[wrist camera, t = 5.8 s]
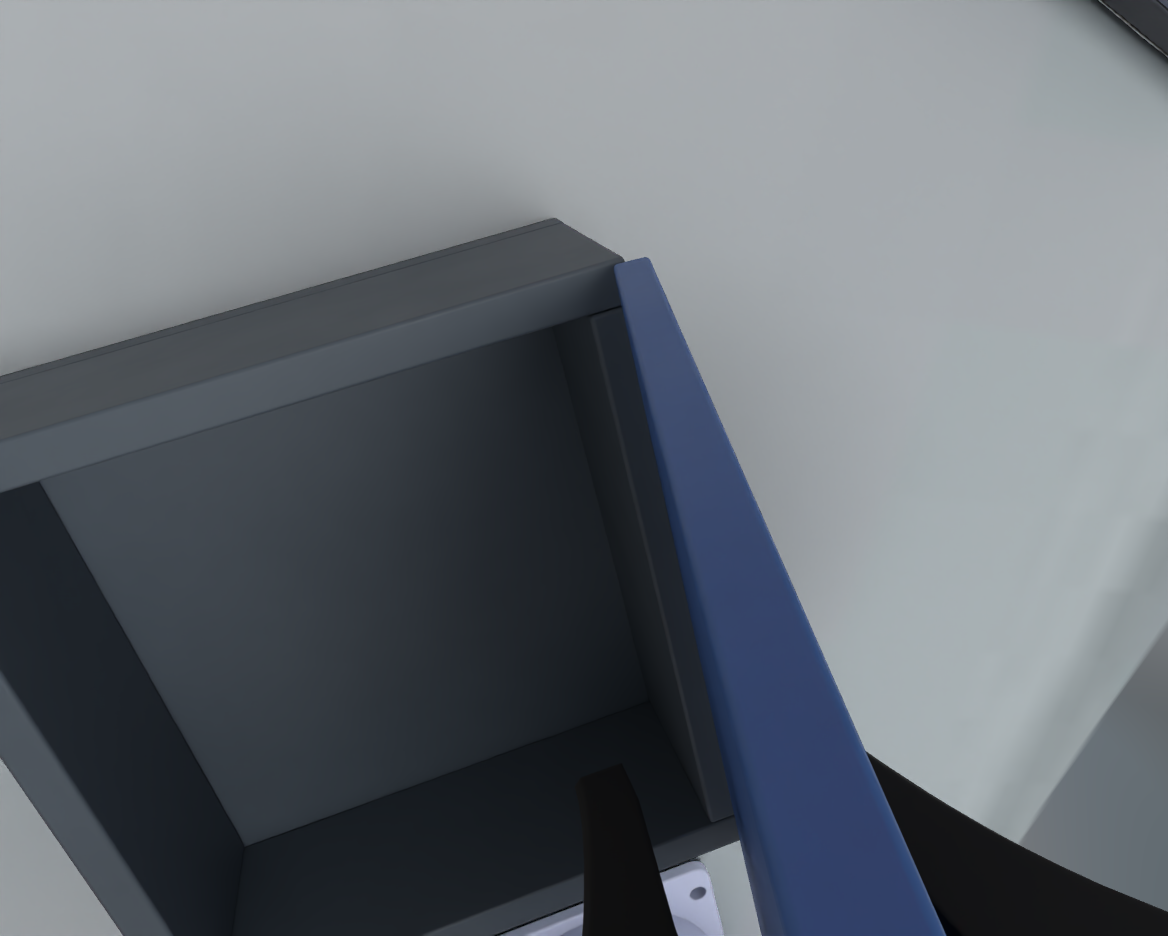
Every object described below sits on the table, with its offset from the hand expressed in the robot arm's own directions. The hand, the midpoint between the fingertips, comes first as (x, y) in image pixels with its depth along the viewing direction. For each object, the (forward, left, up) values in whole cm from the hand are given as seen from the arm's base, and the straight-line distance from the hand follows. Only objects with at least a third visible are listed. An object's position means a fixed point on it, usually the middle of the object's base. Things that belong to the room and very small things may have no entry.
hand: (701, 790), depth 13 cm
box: (0, +5, -10) cm, 11 cm away
